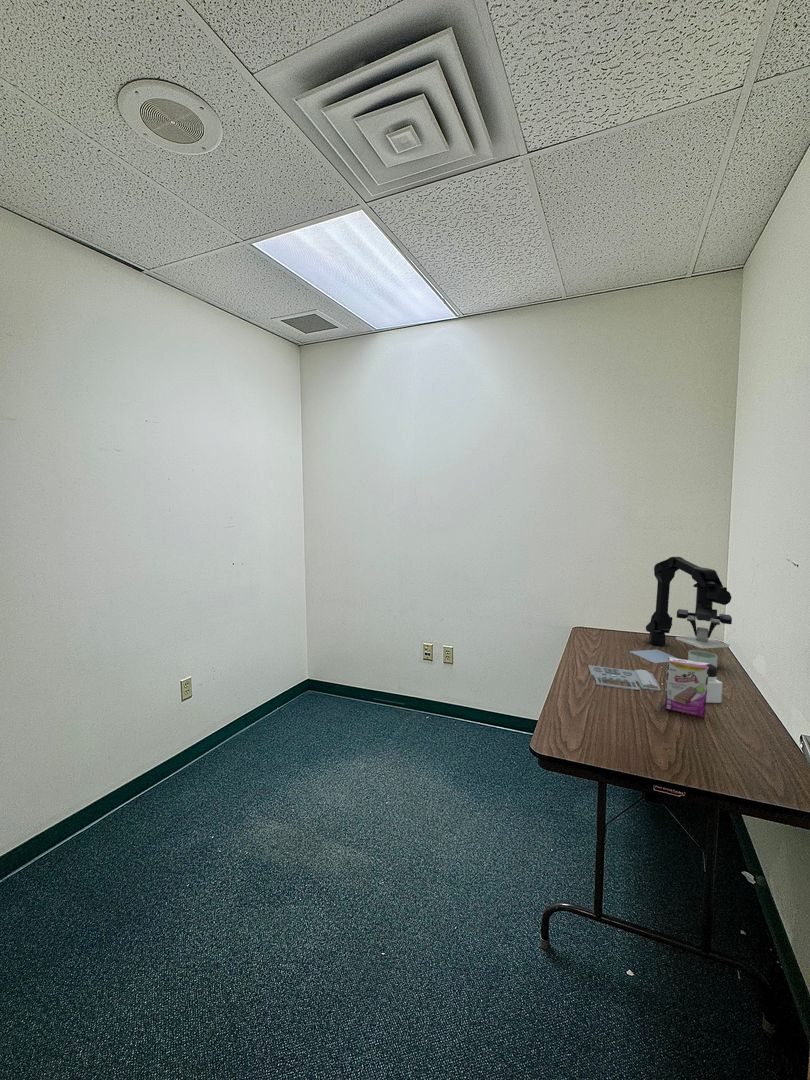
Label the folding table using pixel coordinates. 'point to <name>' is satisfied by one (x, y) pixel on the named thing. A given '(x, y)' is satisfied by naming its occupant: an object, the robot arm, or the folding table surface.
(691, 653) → the bowl
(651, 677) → the office telephone
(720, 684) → the medicine bottle
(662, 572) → the robot arm
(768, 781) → the folding table surface
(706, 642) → the lid
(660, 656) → the mat
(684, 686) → the candy bar box
